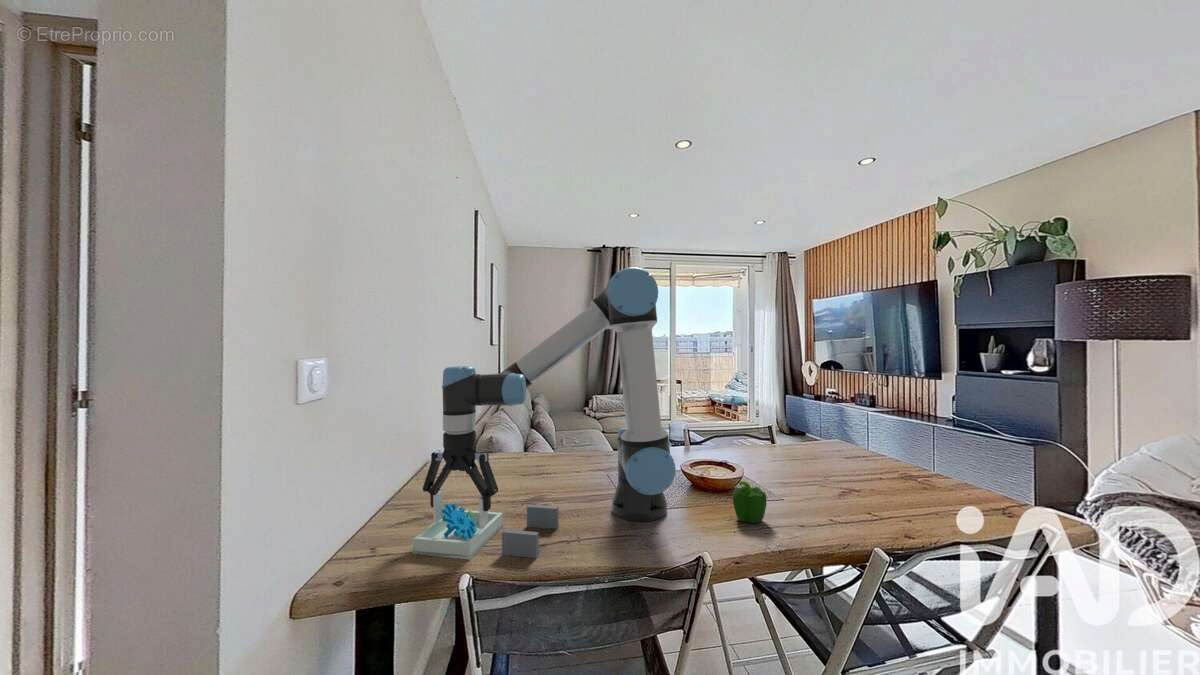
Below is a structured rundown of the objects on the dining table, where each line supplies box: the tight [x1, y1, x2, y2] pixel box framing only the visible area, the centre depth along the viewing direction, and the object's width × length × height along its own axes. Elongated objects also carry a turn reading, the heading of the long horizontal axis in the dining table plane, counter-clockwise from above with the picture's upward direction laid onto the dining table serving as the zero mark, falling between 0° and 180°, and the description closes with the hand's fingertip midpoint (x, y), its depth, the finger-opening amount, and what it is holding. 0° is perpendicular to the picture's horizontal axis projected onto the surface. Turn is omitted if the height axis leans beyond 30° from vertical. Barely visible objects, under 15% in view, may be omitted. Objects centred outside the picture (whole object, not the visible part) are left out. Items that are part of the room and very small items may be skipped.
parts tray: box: [411, 509, 504, 561], centre depth 105 cm, size 14×17×4 cm
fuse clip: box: [501, 504, 560, 559], centre depth 104 cm, size 8×16×5 cm, turn 168°
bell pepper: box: [732, 480, 767, 524], centre depth 114 cm, size 8×8×10 cm
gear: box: [441, 502, 477, 540], centre depth 105 cm, size 11×6×10 cm
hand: (460, 522), depth 105 cm, fingers open, 11 cm apart
